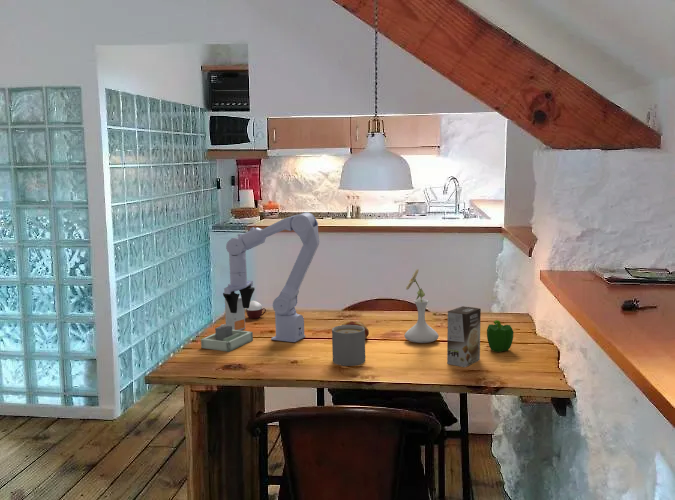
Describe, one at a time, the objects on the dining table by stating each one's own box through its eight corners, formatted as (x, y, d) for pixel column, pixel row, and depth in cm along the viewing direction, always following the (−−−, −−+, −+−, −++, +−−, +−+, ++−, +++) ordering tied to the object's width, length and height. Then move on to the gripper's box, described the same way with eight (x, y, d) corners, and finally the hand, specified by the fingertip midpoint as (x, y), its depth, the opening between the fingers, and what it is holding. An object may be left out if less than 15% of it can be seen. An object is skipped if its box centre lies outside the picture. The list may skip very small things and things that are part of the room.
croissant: (355, 340, 236) (344, 320, 236) (379, 328, 233) (368, 308, 233) (337, 356, 216) (325, 334, 216) (363, 344, 213) (351, 322, 213)
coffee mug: (363, 366, 196) (363, 333, 194) (330, 365, 197) (329, 333, 195) (367, 352, 209) (367, 322, 207) (336, 352, 210) (335, 321, 209)
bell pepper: (502, 345, 214) (502, 315, 212) (518, 351, 206) (518, 320, 205) (480, 348, 211) (480, 317, 209) (495, 355, 203) (495, 323, 202)
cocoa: (266, 316, 260) (266, 286, 259) (263, 320, 254) (263, 289, 253) (242, 315, 261) (243, 285, 260) (238, 319, 255) (239, 288, 254)
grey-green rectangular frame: (252, 340, 226) (252, 331, 225) (229, 351, 213) (228, 342, 213) (226, 337, 231) (225, 328, 230) (201, 348, 218) (201, 339, 218)
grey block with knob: (232, 340, 223) (231, 324, 222) (225, 343, 220) (225, 326, 219) (222, 339, 225) (222, 323, 224) (215, 342, 221) (215, 325, 221)
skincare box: (233, 332, 236) (232, 299, 235) (225, 330, 239) (224, 298, 237) (246, 328, 241) (244, 296, 239) (237, 327, 244) (236, 295, 242)
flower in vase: (413, 334, 228) (412, 263, 225) (443, 338, 222) (444, 265, 219) (396, 344, 217) (395, 269, 214) (428, 348, 211) (428, 272, 208)
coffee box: (465, 368, 192) (466, 314, 190) (446, 364, 196) (446, 311, 194) (480, 360, 199) (481, 308, 197) (461, 356, 203) (462, 305, 201)
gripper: (240, 267, 236) (242, 305, 238) (216, 274, 223) (218, 314, 225) (257, 268, 233) (258, 306, 235) (233, 276, 220) (235, 315, 222)
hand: (239, 310), depth 229 cm, fingers open, 7 cm apart
